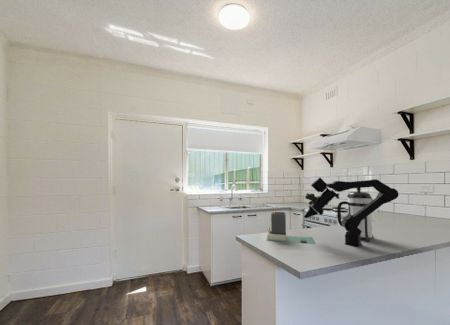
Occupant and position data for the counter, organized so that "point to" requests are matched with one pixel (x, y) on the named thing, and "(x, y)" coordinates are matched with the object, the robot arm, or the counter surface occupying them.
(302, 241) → the board
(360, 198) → the coffee press
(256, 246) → the counter surface
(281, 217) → the grey tall block
